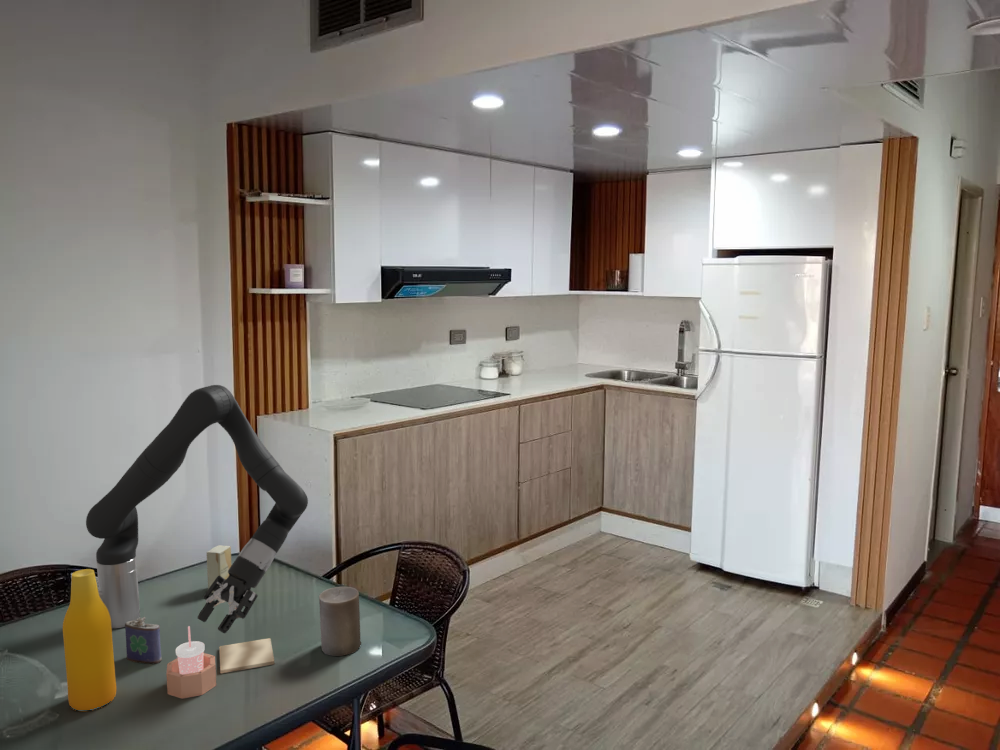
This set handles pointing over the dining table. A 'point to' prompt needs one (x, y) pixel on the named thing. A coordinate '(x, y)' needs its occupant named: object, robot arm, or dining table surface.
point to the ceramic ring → (191, 679)
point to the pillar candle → (340, 621)
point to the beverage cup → (190, 656)
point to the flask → (143, 642)
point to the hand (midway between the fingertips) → (210, 625)
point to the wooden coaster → (246, 655)
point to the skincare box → (218, 563)
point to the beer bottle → (88, 645)
